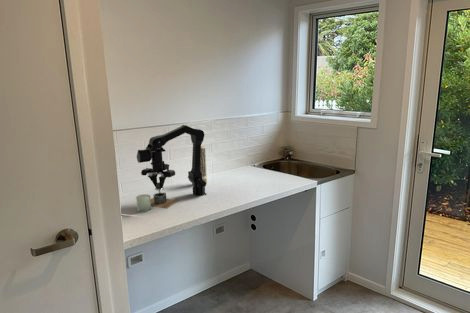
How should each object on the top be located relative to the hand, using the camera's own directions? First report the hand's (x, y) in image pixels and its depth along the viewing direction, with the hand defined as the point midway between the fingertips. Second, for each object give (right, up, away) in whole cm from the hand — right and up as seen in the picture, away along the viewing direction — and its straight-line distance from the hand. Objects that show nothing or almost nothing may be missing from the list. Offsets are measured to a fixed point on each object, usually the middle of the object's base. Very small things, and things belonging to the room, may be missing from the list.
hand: (159, 187), depth 199 cm
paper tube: (+20, -1, +38) cm, 43 cm away
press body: (0, -8, +2) cm, 9 cm away
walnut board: (0, -9, +2) cm, 10 cm away
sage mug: (-6, -12, -8) cm, 15 cm away
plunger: (0, -4, +1) cm, 4 cm away
